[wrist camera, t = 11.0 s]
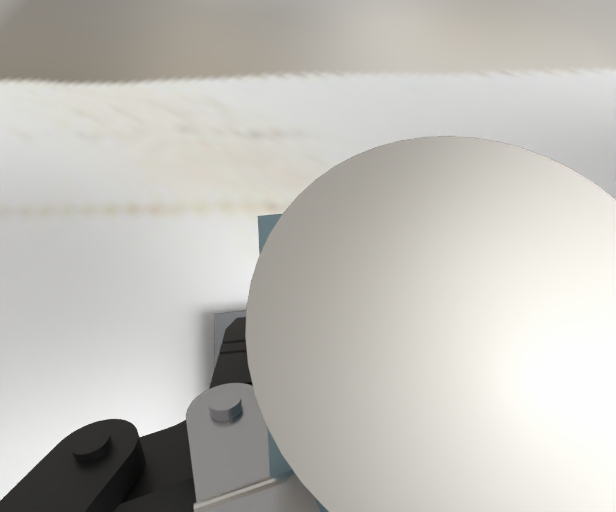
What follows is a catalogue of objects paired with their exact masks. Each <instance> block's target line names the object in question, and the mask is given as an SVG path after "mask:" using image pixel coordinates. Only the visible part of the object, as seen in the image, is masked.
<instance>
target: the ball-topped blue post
mask: <svg viewBox="0 0 616 512" xmlns="http://www.w3.org/2000/svg"><path fill="white" fill-rule="evenodd" d="M258 229H259V251H260V256H259V258H258V261H257V264H256V267H255V271H254V274H253V277H252V280H251V285H250V290H249V296H248V302H247V308H246V333H245V337H246V348H247V358H248V367H249V371H250V375H251V380H252V384H253V388H254V393H255V396H256V399H257V401H258V404H259V407H260V409H261V412H262V415H263V418H264V420H265V423H266V425H267V428H268V450H269V472H270V477H272V476H275V475H278V474H281V473H284V472H286V471H289V470H292V469H293V471H294V472H295V474H296V475H297V477H298V478H299V479H300V481H301V482H302V483H303V485H304V486H305V487H306V488H307V489H308V490H309V491H310V492H311V493H312V494H313V495H314V498H315V500H316V502H317V505H318V507H319V509H320V512H616V199H614V198H613V197H612V196H610V195H609V194H608V193H607V192H605V191H604V190H603V189H601V188H600V187H599V186H597V185H596V184H595V183H593V182H591V181H590V180H588V179H587V178H585V177H583V176H582V175H580V174H578V173H577V172H575V171H574V170H572V169H570V168H568V167H566V166H564V165H562V164H560V163H558V162H556V161H554V160H552V159H550V158H547V157H545V156H542V155H540V154H537V153H534V152H532V151H529V150H526V149H524V148H520V147H516V146H513V145H509V144H505V143H501V142H497V141H491V140H485V139H479V138H471V137H456V136H439V137H422V138H415V139H408V140H401V141H397V142H394V143H390V144H386V145H382V146H378V147H376V148H373V149H370V150H368V151H365V152H363V153H360V154H358V155H355V156H353V157H351V158H350V159H348V160H346V161H344V162H342V163H340V164H338V165H336V166H335V167H333V168H332V169H330V170H329V171H328V172H326V173H325V174H323V175H322V176H320V177H319V178H318V179H316V180H315V181H314V182H313V183H312V184H311V185H309V186H308V187H307V188H306V189H305V190H304V191H303V192H302V193H301V194H299V195H298V197H297V198H296V199H295V200H294V201H293V202H292V204H291V205H290V206H289V207H288V208H287V209H286V211H285V212H284V213H283V214H275V215H265V216H258Z"/></svg>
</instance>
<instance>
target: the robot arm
mask: <svg viewBox="0 0 616 512" xmlns="http://www.w3.org/2000/svg"><path fill="white" fill-rule="evenodd" d="M245 333H246V317H238V318H236V319H235V320H234V321H233V322H232V323H231V324H230V325H229V326H228V327H227V328H226V329H225V333H224V337H223V340H222V344H221V348H220V351H219V355H218V359H217V363H216V366H215V370H214V374H213V377H212V381H211V385H210V388H209V390H207V391H205V392H203V393H202V394H200V395H199V396H198V397H197V398H195V399H194V400H193V402H192V403H191V404H190V406H189V408H188V410H187V413H186V420H185V421H183V422H181V423H179V424H177V425H175V426H172V427H170V428H167V429H164V430H161V431H158V432H155V433H152V434H149V435H146V436H143V437H139V435H138V432H137V429H136V427H135V426H134V425H133V424H132V423H130V422H128V421H126V420H121V419H107V420H102V421H98V422H94V423H91V424H89V425H86V426H84V427H82V428H80V429H78V430H76V431H74V432H73V433H71V434H70V435H68V436H67V437H66V438H64V439H63V440H62V441H61V442H60V443H59V444H58V445H57V446H55V447H54V448H53V449H52V450H51V451H50V452H49V453H48V454H47V455H46V456H45V457H44V458H43V459H42V460H41V461H40V462H39V463H38V464H37V465H36V466H35V467H34V468H33V469H32V470H31V471H30V472H29V473H28V474H27V475H26V476H25V477H24V478H23V479H22V480H21V481H20V482H19V483H18V484H17V485H16V486H15V487H14V488H13V489H12V490H11V491H10V492H9V493H8V494H7V495H6V496H5V497H4V498H3V499H2V500H1V501H0V512H320V509H319V507H318V505H317V502H316V500H315V498H314V495H313V494H312V493H311V492H310V491H309V490H308V489H307V488H306V487H305V486H304V485H303V483H302V482H301V481H300V479H299V478H298V477H297V475H296V474H295V472H294V471H293V469H292V470H289V471H286V472H284V473H281V474H278V475H275V476H272V477H270V472H269V450H268V428H267V425H266V423H265V420H264V418H263V415H262V412H261V409H260V407H259V404H258V401H257V399H256V396H255V393H254V388H253V384H252V380H251V375H250V371H249V367H248V358H247V348H246V337H245Z"/></svg>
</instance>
